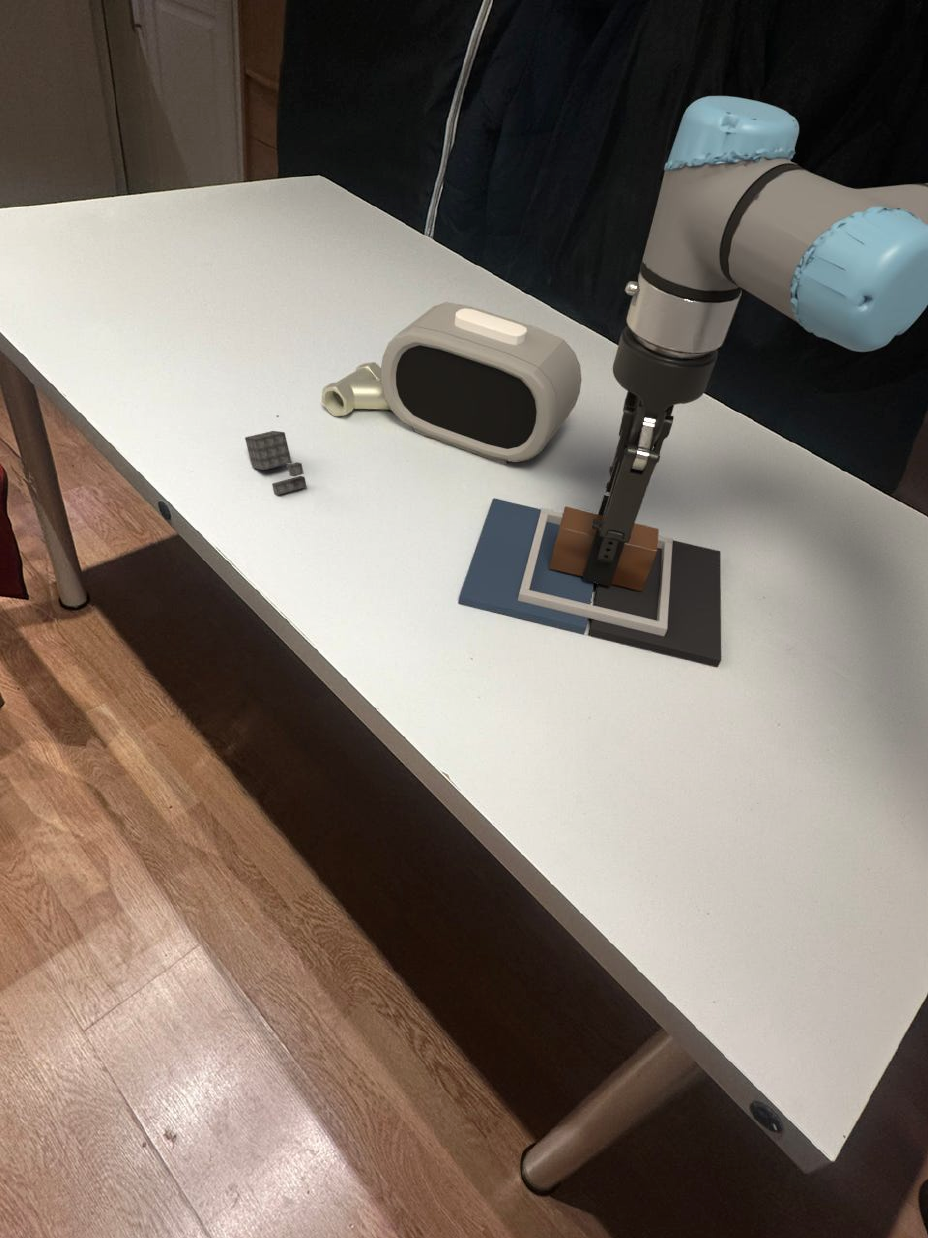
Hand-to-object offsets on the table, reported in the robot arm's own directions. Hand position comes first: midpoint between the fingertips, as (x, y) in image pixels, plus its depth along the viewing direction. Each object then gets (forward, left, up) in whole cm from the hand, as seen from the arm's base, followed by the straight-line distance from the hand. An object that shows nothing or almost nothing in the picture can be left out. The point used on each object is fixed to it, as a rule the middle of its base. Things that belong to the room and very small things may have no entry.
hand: (598, 566), depth 79 cm
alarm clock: (+17, -21, -2) cm, 27 cm away
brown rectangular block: (0, 0, 0) cm, 0 cm away
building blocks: (+34, -4, -2) cm, 34 cm away
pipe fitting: (+30, -21, -2) cm, 37 cm away
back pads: (0, 0, -2) cm, 2 cm away
